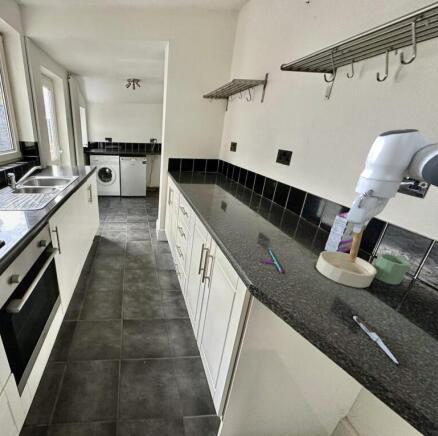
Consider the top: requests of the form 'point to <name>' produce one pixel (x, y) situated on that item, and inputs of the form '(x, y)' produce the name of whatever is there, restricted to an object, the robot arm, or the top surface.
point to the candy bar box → (340, 234)
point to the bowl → (345, 269)
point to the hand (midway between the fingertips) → (358, 230)
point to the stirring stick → (355, 246)
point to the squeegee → (274, 262)
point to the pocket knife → (374, 336)
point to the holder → (390, 268)
